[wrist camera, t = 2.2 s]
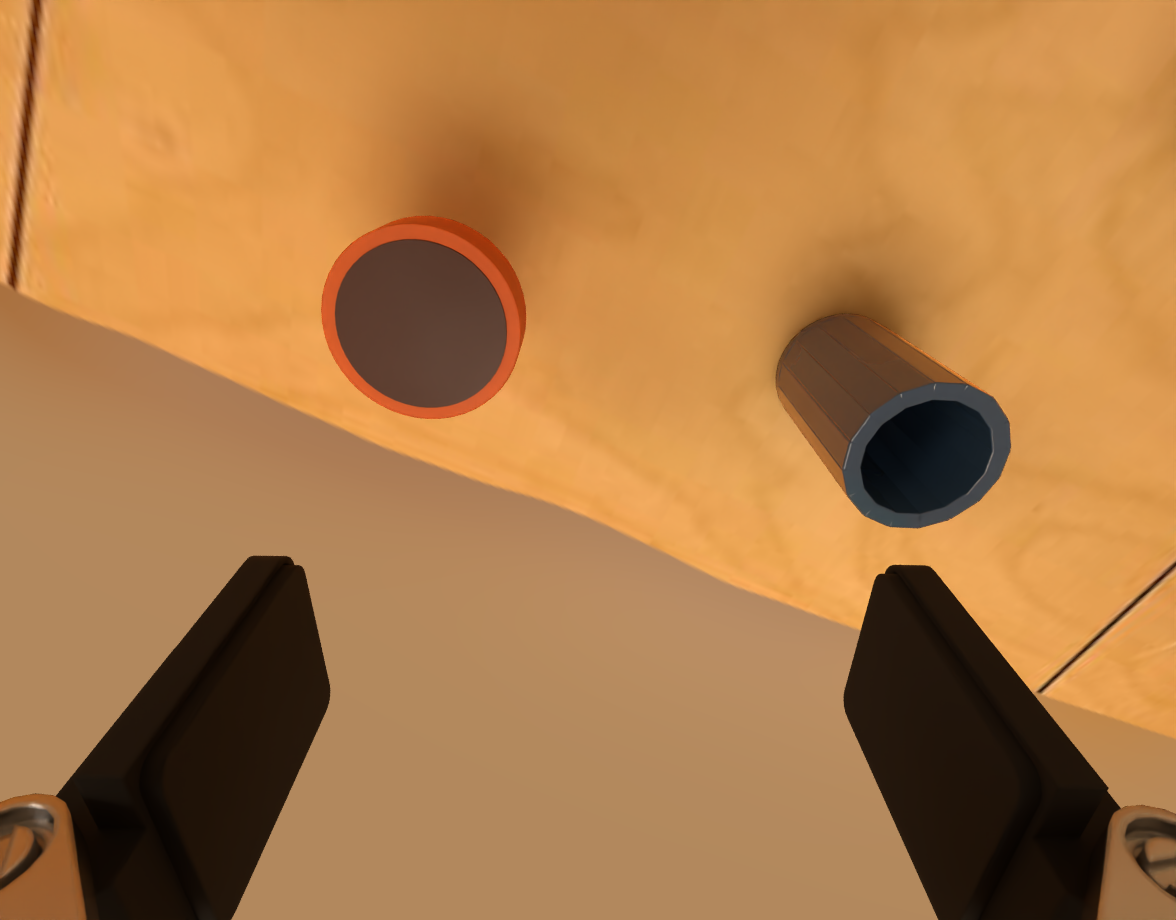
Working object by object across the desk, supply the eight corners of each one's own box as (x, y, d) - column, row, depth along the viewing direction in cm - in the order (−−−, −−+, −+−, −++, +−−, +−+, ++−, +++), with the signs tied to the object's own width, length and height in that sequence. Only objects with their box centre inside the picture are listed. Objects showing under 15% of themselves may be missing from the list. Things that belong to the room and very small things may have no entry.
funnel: (387, 193, 29) (306, 218, 21) (540, 201, 30) (521, 229, 21) (400, 341, 33) (333, 415, 24) (537, 348, 33) (520, 424, 24)
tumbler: (788, 310, 32) (866, 379, 23) (911, 316, 32) (1036, 387, 23) (766, 424, 35) (827, 524, 26) (879, 429, 35) (979, 531, 26)
